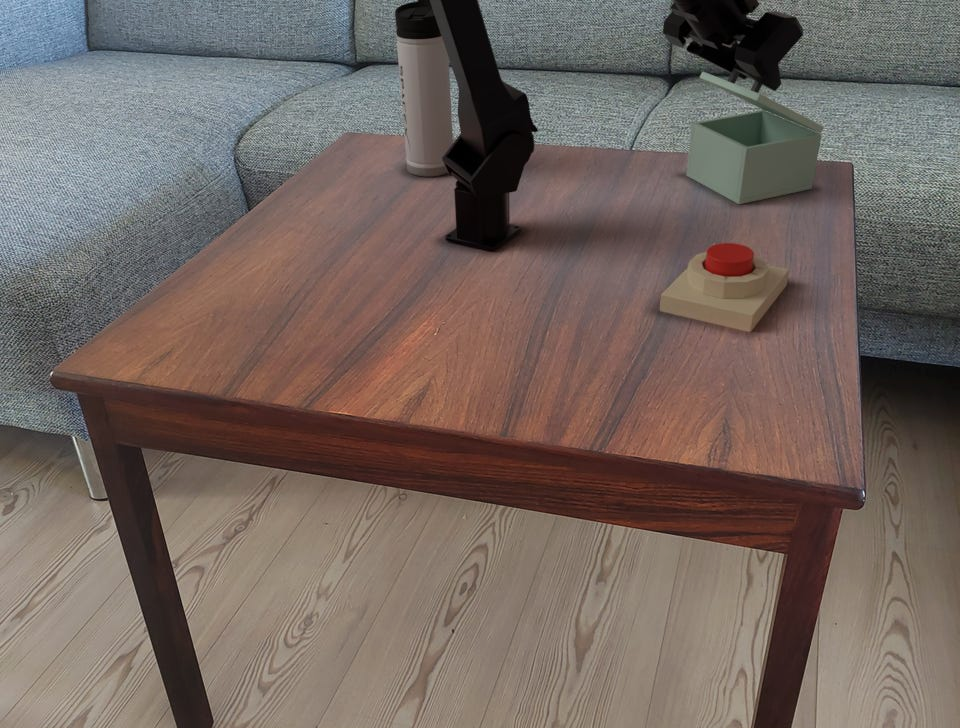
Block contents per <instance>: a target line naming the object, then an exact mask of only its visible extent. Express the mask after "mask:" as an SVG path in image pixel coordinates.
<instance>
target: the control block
mask: <svg viewBox="0 0 960 728" xmlns="http://www.w3.org/2000/svg"><path fill="white" fill-rule="evenodd" d="M706 254H707V251H702V252H700V253H697V254H695V255H694V256H693V257H692V258H691V259H690V261H689V262H688V266H687V268H685V270H683V272H682V273H680V275H679V276H678V277H676V279H674V281H673V282H672V283H671V284H670V285H668V287H667V288H666V289H665V290H664V291H663V292H662V293H661V294H660V301H659V302H660V303H659V312H662V313H667V314H670V315H674V316H675V315H676V316H679V317H684V318H688V319H691V320H692V319H693V320H695V321H696V320H697V321H701V322H705V323H708V324H709V323H710V324H713V325H717V326H722V327H725V328H730V329H734V330H737V331H738V330H739V331H742V332H743V331H744V332H748V333H751V332H752V331H753V330H754V328H755V327H756V326H757V324H758V323H759V322H760V321H761V320H762V318H763V317H764V315H765V314H766V313H767V311H768V310H769V309H770V307H771V306H772V305H773V303H774V302H775V301H776V300H777V298H778V297H779V296H780V295H781V293H783V291H784V289H785V288H786V287H787V284H788V280H789V273H790V269H789V268H785V267H779V266H775V265H770V264H767V262H766V261H765V259H763V258H761V257H759V256H757V255H755V254H754V259H753V266H752V271H751V273H750V274H747V275H744V276H740V277H725V276H720V275H715V274H712V273H710V272H709V271H707V270H705V262H706Z"/></svg>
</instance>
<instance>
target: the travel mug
mask: <svg viewBox="0 0 960 728" xmlns="http://www.w3.org/2000/svg"><path fill="white" fill-rule="evenodd" d="M394 15H395V16H394V17H395V27H396V29H395V30H396V31H395V32H396V34H395V35H396V36H395V37H396V50H397V61H398V70H399V71H398V72H399V86H400V97H401V99H400V100H401V110H402V122H403V134H404V149H405V157H406V160H405V161H406V169H407V172H408V173H410V174H411V175H414V176H417V177H422V178H423V177H425V178H428V177H429V178H430V177H431V178H432V177H440V176H444V175H446V174H448V172H447V170H446V168H445V165H444V163H443V161H442V158H443V156H444V155H445V153H446V152H447V151H448V150H449V148H450V147H451V146H452V144H453V143H454V138H453V137H454V136H453V119H452V118H453V117H452V116H453V115H452V99H451V98H452V96H451V80H450V79H451V78H450V60H449V57H448V54H447V51H446V48H445V45H444V42H443V39H442V36H441V33H440V30H439V27H438V24H437V21H436V18H435V15H434V12H433V9H432V6H431V3H430V0H417V1H412V2H407V3H404V4H402V5H399V6H398V7H396V8H395V10H394Z"/></svg>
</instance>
